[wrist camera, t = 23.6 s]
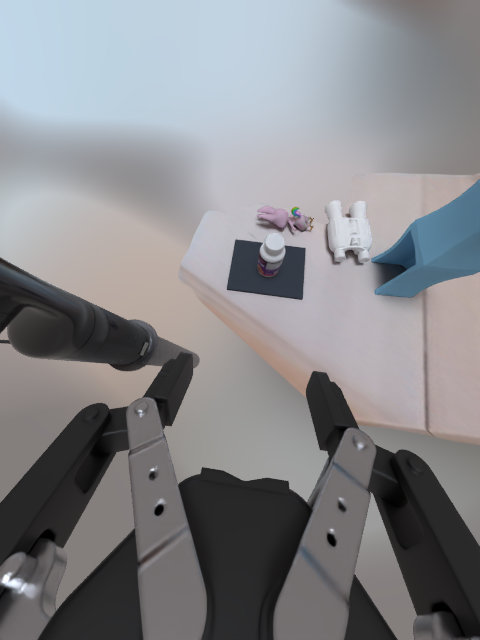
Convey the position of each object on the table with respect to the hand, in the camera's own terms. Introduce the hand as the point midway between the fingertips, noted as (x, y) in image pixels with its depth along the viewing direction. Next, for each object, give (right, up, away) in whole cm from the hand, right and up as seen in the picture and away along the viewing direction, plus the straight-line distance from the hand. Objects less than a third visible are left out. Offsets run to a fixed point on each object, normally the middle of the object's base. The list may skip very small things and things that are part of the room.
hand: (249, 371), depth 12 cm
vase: (+37, +14, +34) cm, 52 cm away
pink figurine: (+11, +29, +38) cm, 49 cm away
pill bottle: (+6, +16, +34) cm, 38 cm away
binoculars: (+27, +25, +37) cm, 52 cm away
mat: (+6, +16, +34) cm, 38 cm away
